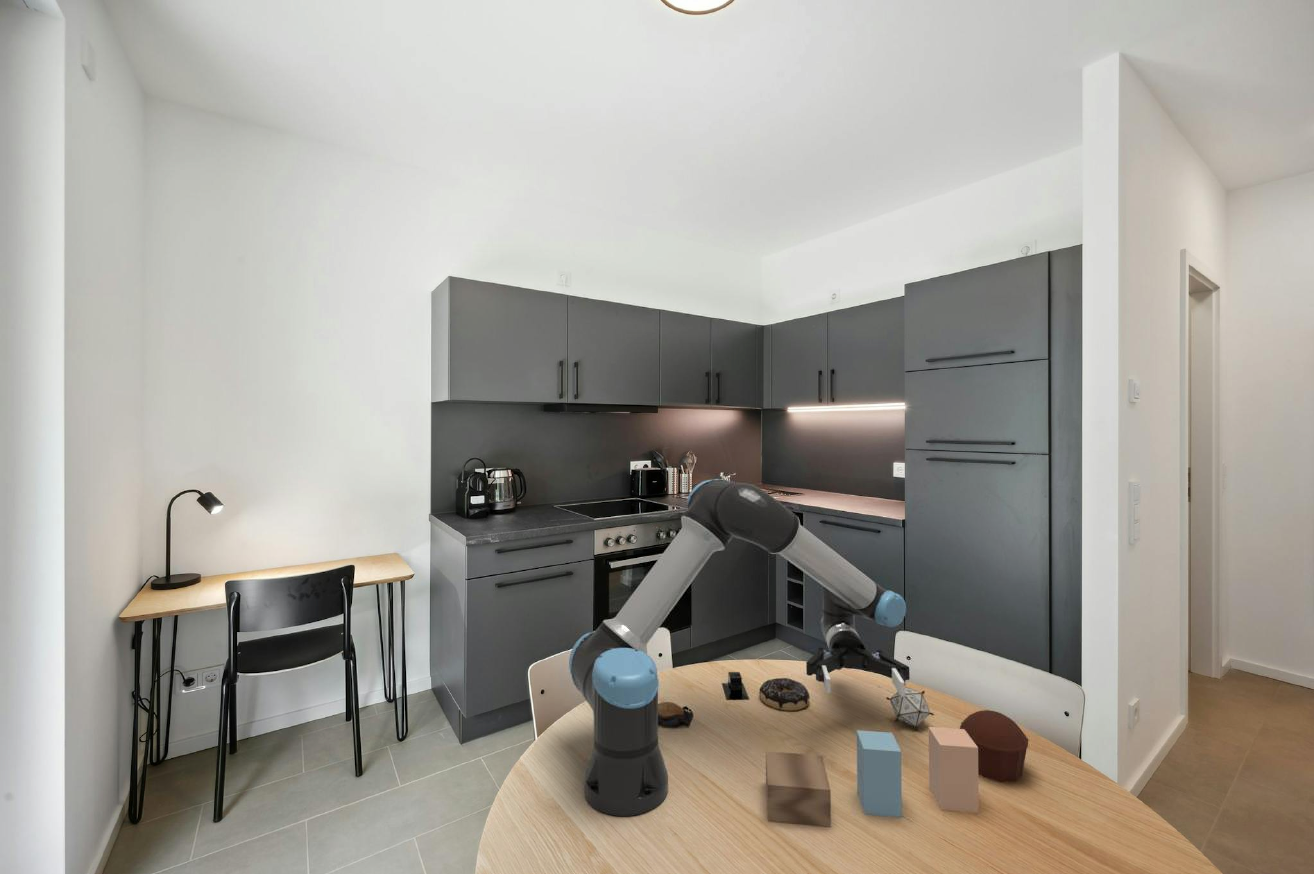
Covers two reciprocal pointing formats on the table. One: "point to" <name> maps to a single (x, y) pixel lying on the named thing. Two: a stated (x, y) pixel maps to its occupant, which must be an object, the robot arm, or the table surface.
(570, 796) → the table surface
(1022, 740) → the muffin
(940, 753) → the clay brick
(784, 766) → the base block
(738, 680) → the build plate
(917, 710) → the game die
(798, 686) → the donut
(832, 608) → the robot arm
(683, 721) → the brown and black lump
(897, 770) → the blue brick
